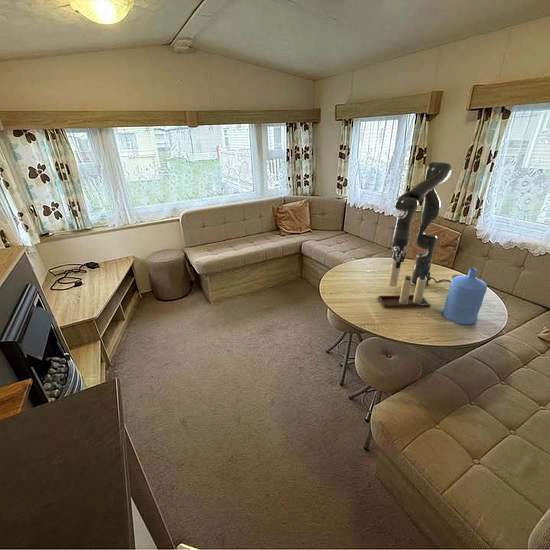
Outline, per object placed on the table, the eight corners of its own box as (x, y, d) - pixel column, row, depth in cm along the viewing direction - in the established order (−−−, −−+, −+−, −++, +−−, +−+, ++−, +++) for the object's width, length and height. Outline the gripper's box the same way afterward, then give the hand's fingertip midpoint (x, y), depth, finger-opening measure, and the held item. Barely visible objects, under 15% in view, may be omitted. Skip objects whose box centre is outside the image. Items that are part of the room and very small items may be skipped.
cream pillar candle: (395, 282, 170) (399, 256, 162) (398, 286, 166) (403, 259, 158) (387, 283, 170) (391, 256, 162) (389, 286, 166) (394, 259, 158)
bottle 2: (419, 299, 175) (424, 274, 167) (422, 303, 171) (428, 278, 163) (411, 299, 175) (416, 274, 167) (414, 304, 171) (420, 278, 163)
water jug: (475, 328, 150) (492, 279, 137) (441, 319, 157) (453, 272, 145) (476, 313, 161) (491, 266, 149) (443, 306, 169) (456, 260, 157)
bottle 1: (405, 300, 175) (410, 274, 167) (408, 304, 171) (414, 278, 163) (397, 300, 175) (402, 275, 167) (400, 304, 171) (405, 278, 163)
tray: (421, 297, 178) (421, 294, 177) (429, 307, 168) (430, 304, 167) (378, 298, 178) (378, 295, 177) (384, 308, 168) (384, 305, 167)
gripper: (414, 240, 148) (408, 271, 156) (402, 231, 161) (397, 260, 169) (399, 241, 148) (393, 271, 156) (388, 232, 161) (384, 260, 169)
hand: (395, 265), depth 162 cm, fingers closed on cream pillar candle, 4 cm apart
